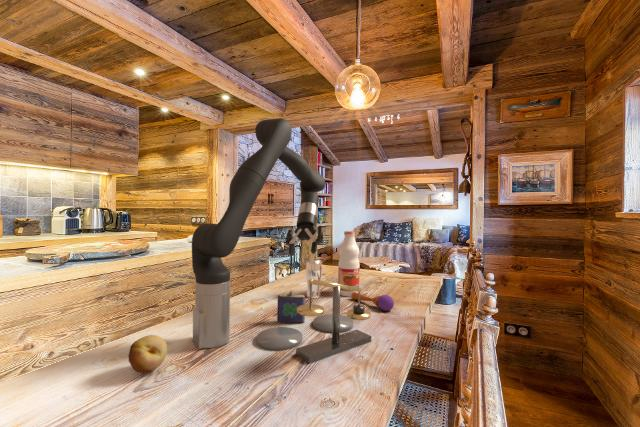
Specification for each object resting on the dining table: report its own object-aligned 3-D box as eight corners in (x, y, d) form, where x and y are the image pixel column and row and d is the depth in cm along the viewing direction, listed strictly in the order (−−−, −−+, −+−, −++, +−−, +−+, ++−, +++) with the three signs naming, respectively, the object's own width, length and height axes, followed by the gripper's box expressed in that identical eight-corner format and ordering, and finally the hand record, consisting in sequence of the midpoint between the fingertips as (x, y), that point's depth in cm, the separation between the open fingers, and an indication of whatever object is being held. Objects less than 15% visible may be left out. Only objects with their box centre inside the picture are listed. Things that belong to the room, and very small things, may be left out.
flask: (305, 321, 104) (305, 289, 104) (304, 324, 101) (304, 291, 101) (277, 320, 105) (278, 288, 104) (276, 323, 102) (276, 291, 101)
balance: (306, 366, 74) (307, 283, 74) (290, 354, 80) (292, 278, 80) (375, 340, 89) (376, 272, 89) (358, 332, 95) (359, 268, 95)
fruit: (123, 382, 66) (124, 345, 66) (135, 363, 74) (135, 330, 74) (162, 377, 68) (163, 342, 68) (169, 360, 76) (170, 327, 76)
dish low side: (330, 336, 92) (330, 332, 92) (305, 322, 102) (305, 319, 102) (361, 326, 100) (361, 323, 100) (335, 315, 110) (335, 311, 110)
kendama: (359, 288, 132) (397, 296, 117) (358, 303, 132) (396, 312, 116) (349, 288, 129) (387, 295, 113) (348, 302, 128) (386, 312, 112)
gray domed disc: (270, 354, 80) (270, 350, 80) (249, 337, 90) (249, 333, 90) (311, 342, 88) (311, 338, 88) (287, 327, 98) (287, 323, 98)
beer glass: (319, 299, 129) (320, 263, 129) (303, 297, 131) (304, 262, 130) (322, 294, 136) (323, 260, 136) (307, 293, 138) (308, 259, 137)
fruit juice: (350, 290, 144) (351, 230, 144) (363, 295, 136) (364, 232, 136) (333, 292, 139) (334, 230, 139) (346, 298, 131) (347, 232, 131)
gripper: (287, 213, 120) (279, 250, 111) (321, 208, 115) (316, 247, 106) (295, 223, 126) (288, 259, 117) (327, 219, 121) (323, 257, 112)
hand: (301, 253), depth 111 cm, fingers open, 8 cm apart
